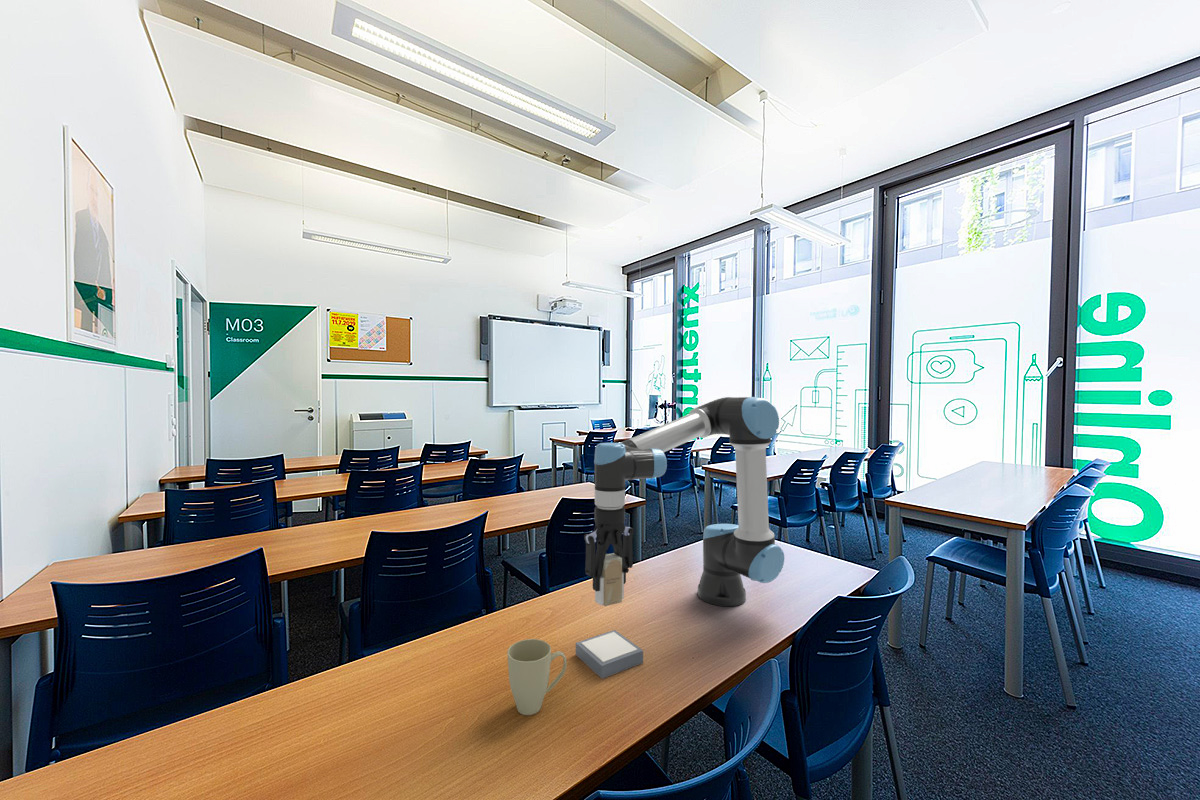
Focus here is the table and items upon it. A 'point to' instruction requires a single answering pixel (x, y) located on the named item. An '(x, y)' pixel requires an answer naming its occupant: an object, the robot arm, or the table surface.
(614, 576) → the box
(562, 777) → the table surface
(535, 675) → the mug
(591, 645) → the pedestal
